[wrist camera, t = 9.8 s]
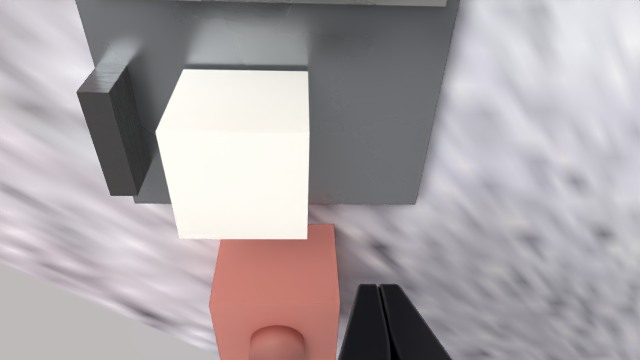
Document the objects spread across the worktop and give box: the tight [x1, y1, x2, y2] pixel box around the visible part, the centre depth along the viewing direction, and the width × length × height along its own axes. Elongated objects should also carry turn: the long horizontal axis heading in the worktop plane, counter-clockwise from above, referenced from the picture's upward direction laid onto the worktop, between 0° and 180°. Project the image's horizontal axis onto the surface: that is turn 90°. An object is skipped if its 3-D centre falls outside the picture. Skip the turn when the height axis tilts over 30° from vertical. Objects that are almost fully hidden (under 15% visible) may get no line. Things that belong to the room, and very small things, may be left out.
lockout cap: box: [209, 224, 340, 360], centre depth 19 cm, size 4×4×5 cm
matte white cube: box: [156, 69, 309, 239], centre depth 13 cm, size 4×4×3 cm
